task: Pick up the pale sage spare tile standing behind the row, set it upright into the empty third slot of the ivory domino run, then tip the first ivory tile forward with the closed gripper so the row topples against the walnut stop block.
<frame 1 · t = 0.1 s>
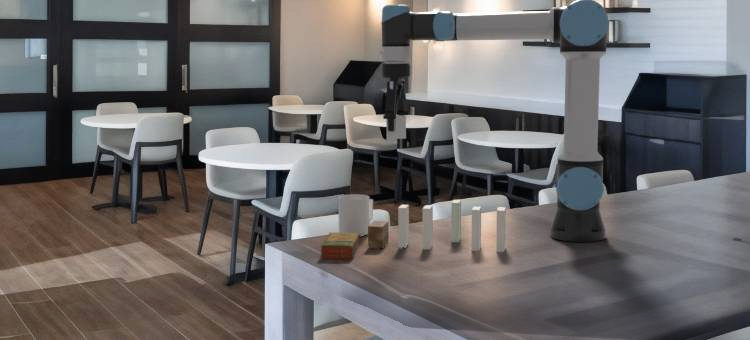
hand: (396, 141, 237), 28 cm above the table, fingers open, 13 cm apart
domino 3: (427, 247, 232), on the table
domino 2: (476, 249, 229), on the table
stop block: (378, 245, 235), on the table
mug: (358, 234, 250), on the table
domino 4: (403, 246, 233), on the table
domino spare: (456, 240, 240), on the table
carton: (340, 254, 227), on the table
domino 1: (500, 249, 228), on the table
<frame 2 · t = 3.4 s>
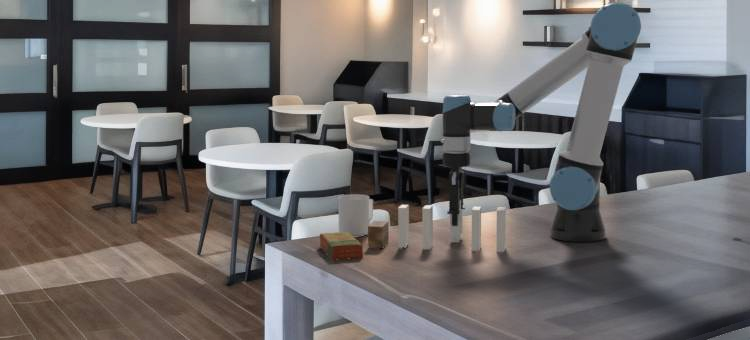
hand: (456, 234, 240), 2 cm above the table, fingers closed on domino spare, 5 cm apart
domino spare: (456, 240, 240), on the table, touching gripper
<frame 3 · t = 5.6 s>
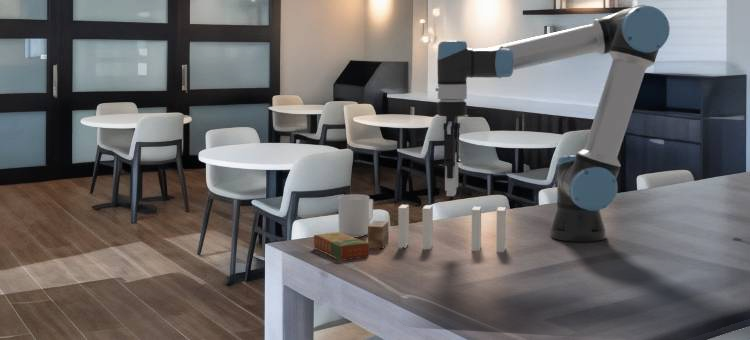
hand: (451, 188, 229), 16 cm above the table, fingers closed on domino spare, 5 cm apart
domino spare: (451, 194, 229), point 14 cm above the table, touching gripper
when the fingers open (2 cm above the table, at t = 8.3 s): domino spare stays where it is, on the table.
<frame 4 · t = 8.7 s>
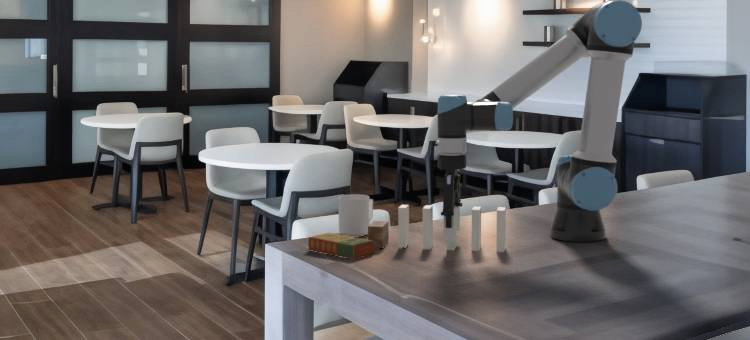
hand: (451, 235, 230), 3 cm above the table, fingers open, 11 cm apart
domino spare: (451, 248, 231), on the table
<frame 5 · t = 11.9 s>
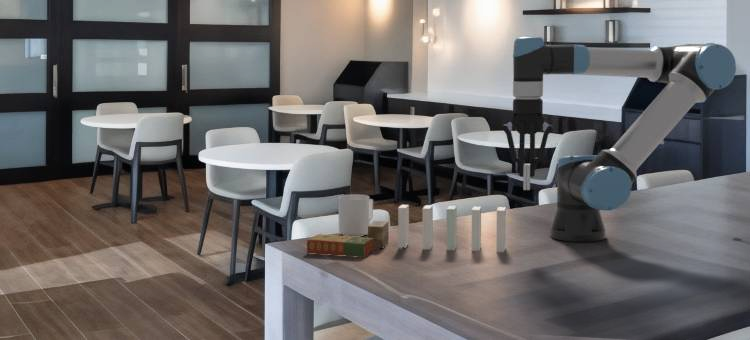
hand: (526, 189, 224), 16 cm above the table, fingers closed
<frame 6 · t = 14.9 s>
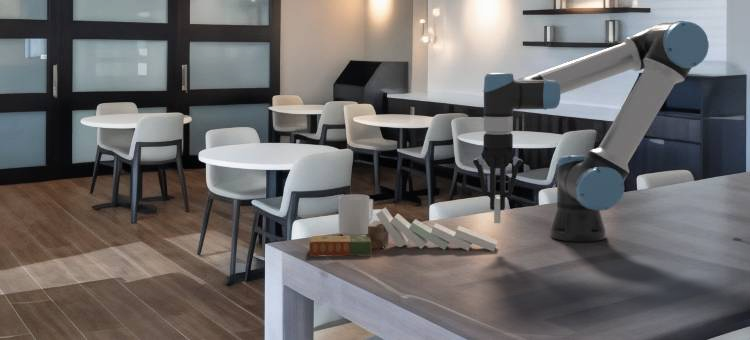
hand: (497, 222, 227), 7 cm above the table, fingers closed
domino 3: (425, 244, 232), point 1 cm above the table, tilted 50°, touching domino 4, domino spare
domino 2: (470, 245, 229), point 1 cm above the table, tilted 66°, touching domino 1, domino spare
domino 4: (403, 244, 233), point 1 cm above the table, tilted 35°, touching domino 3, stop block
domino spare: (447, 244, 231), point 1 cm above the table, tilted 61°, touching domino 2, domino 3
domino 1: (495, 246, 228), point 1 cm above the table, tilted 70°, touching domino 2
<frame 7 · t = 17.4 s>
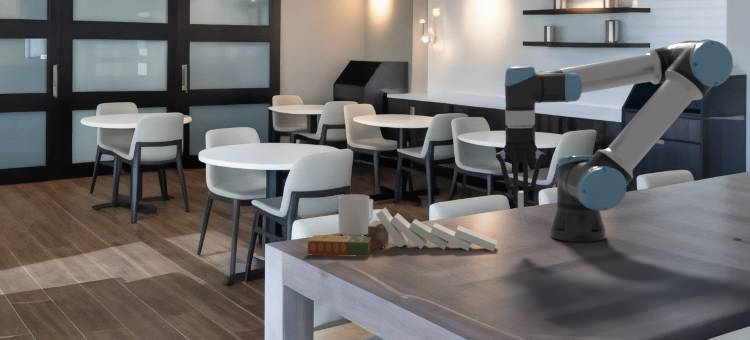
hand: (520, 216, 227), 9 cm above the table, fingers closed
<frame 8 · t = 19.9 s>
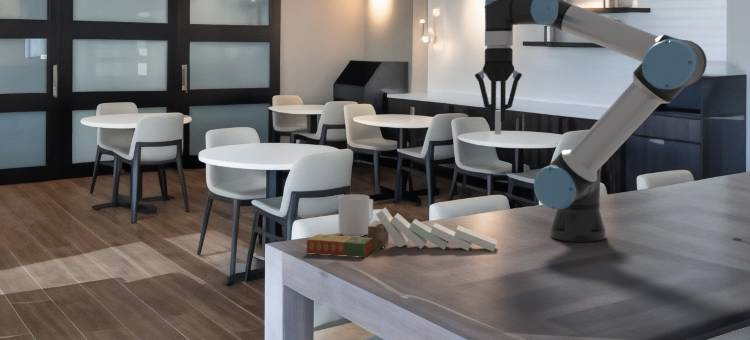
hand: (498, 133, 238), 29 cm above the table, fingers closed
at the end: domino 4 tilted 35°; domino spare inside the target area (0.3 cm from its centre), point 0.9 cm above the table; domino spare tilted 60° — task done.
